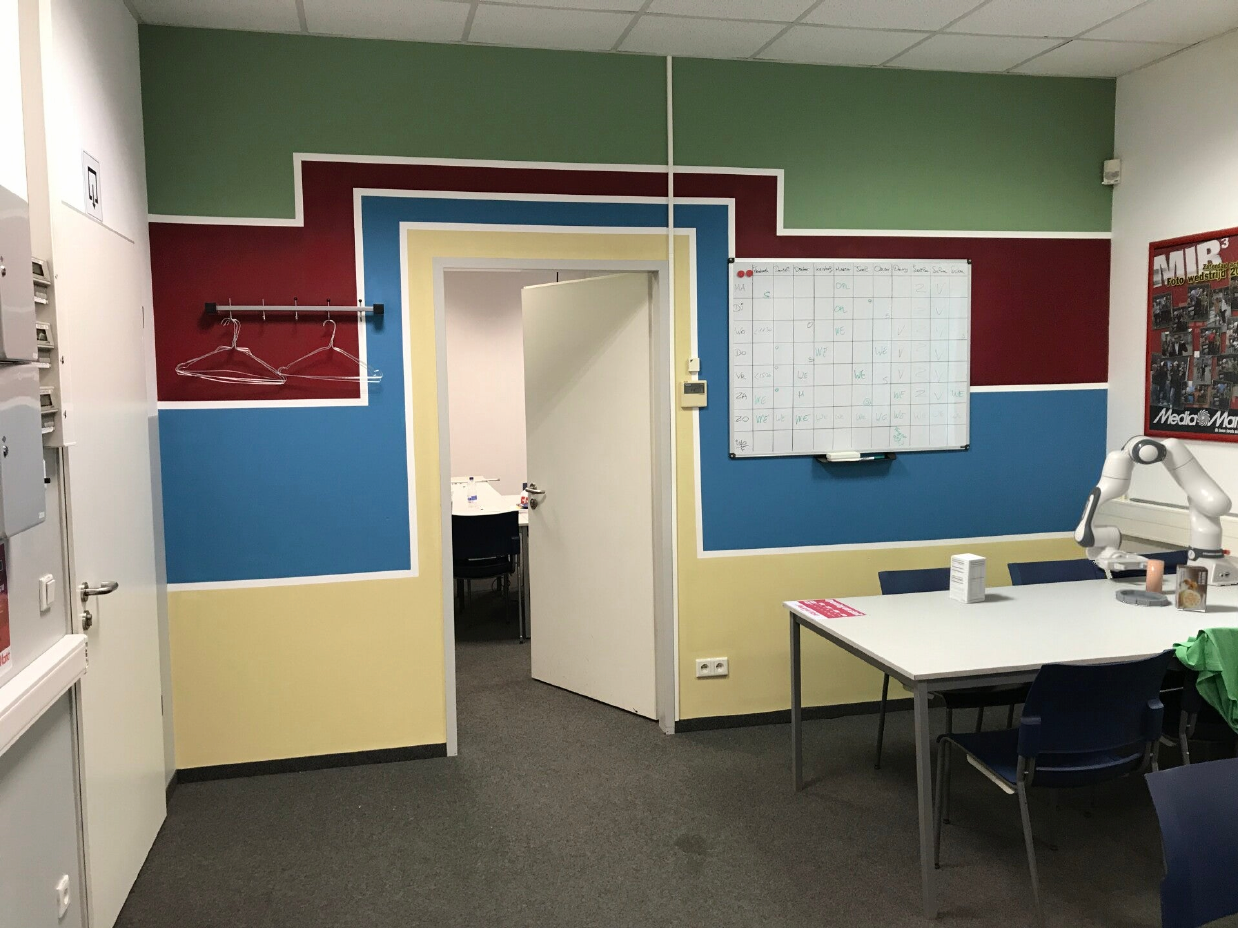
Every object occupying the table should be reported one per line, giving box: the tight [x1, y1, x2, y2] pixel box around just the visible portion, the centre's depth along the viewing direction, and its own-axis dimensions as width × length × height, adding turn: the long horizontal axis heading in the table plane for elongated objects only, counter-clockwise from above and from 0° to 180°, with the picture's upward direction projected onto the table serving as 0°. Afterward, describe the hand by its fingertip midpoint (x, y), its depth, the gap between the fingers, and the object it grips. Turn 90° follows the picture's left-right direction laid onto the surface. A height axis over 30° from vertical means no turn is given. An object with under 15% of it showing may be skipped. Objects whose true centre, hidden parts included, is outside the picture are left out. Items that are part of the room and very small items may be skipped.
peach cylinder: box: [1145, 558, 1165, 595], centre depth 361 cm, size 6×6×13 cm
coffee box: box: [1174, 564, 1208, 610], centre depth 338 cm, size 9×6×16 cm
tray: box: [1115, 588, 1169, 607], centre depth 350 cm, size 17×17×2 cm
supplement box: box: [949, 552, 988, 604], centre depth 350 cm, size 10×9×17 cm
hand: (1136, 567), depth 372 cm, fingers open, 8 cm apart
